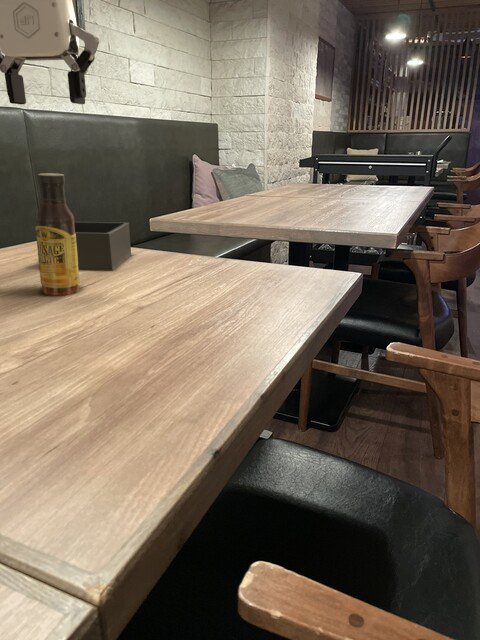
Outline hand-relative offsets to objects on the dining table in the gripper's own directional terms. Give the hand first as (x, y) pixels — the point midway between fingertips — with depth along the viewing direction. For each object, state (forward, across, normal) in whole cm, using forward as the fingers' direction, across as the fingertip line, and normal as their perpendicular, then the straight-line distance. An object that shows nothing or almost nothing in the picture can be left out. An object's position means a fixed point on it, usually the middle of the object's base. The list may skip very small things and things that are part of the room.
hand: (47, 103), depth 72 cm
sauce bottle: (+30, -3, +2) cm, 30 cm away
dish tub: (+30, -9, +23) cm, 39 cm away
